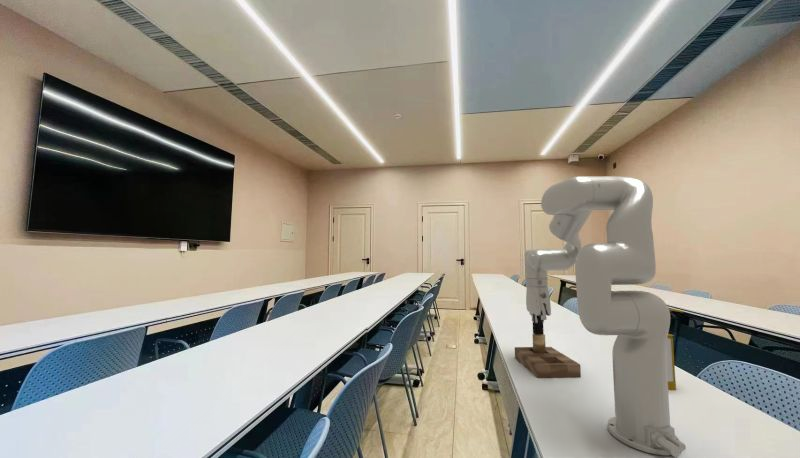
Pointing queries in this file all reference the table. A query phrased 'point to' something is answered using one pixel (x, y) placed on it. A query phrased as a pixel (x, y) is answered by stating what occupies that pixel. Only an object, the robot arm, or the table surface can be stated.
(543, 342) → the peg
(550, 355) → the board
